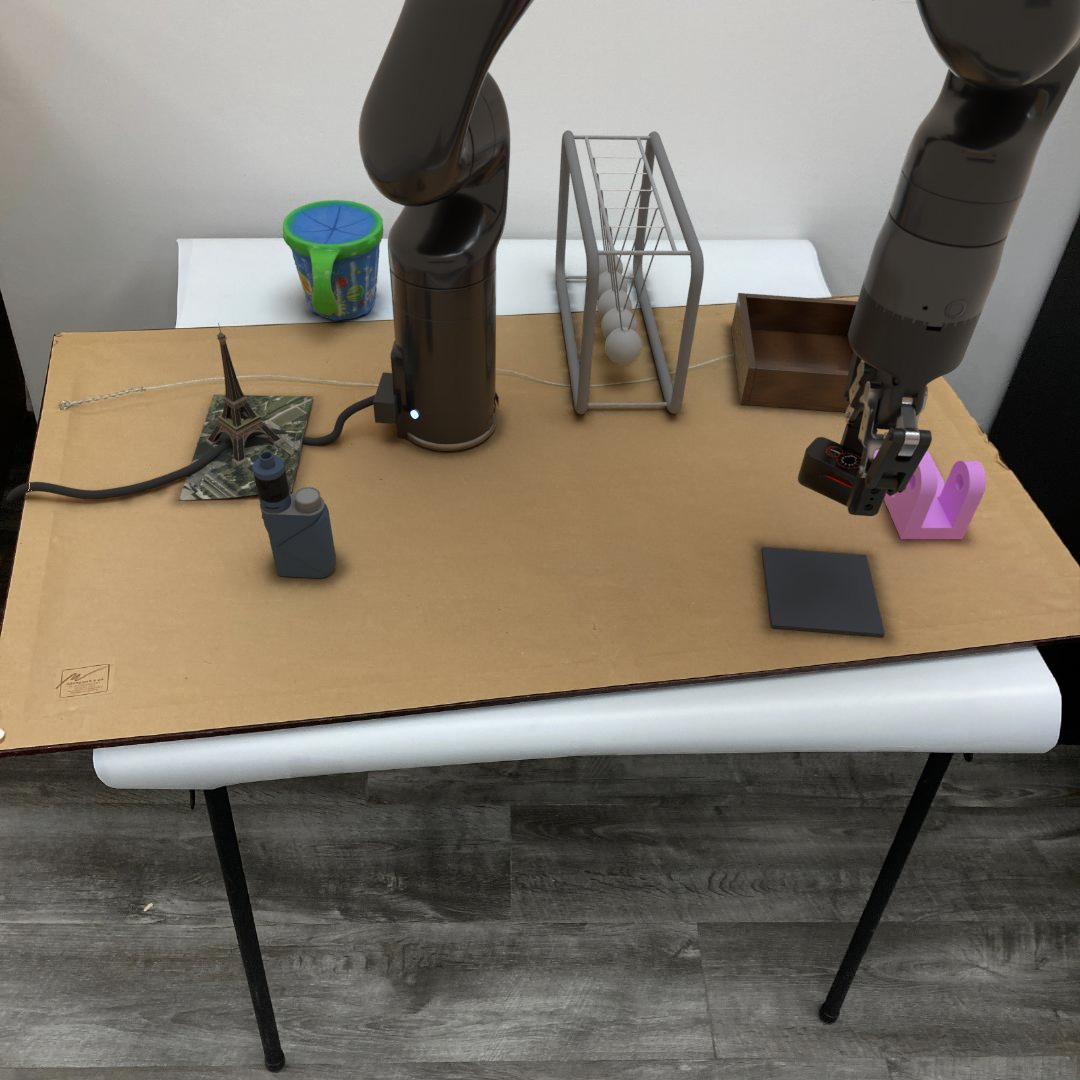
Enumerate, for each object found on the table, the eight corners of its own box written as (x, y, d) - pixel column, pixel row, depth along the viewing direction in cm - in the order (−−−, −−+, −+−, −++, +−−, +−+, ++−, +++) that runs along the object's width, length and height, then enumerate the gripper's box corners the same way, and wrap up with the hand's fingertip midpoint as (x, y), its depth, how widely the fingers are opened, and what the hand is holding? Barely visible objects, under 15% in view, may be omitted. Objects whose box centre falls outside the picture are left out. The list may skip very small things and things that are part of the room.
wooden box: (740, 404, 100) (748, 367, 97) (731, 327, 111) (738, 292, 108) (873, 414, 100) (886, 377, 97) (851, 336, 110) (862, 301, 107)
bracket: (962, 539, 87) (990, 480, 82) (900, 539, 87) (925, 479, 82) (916, 447, 96) (939, 389, 91) (861, 446, 96) (881, 388, 91)
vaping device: (277, 555, 82) (253, 443, 74) (339, 558, 82) (322, 447, 74) (270, 577, 81) (245, 465, 72) (334, 580, 81) (316, 469, 72)
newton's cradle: (554, 271, 118) (562, 123, 106) (640, 271, 119) (657, 124, 107) (576, 423, 97) (588, 260, 85) (680, 422, 98) (707, 260, 85)
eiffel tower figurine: (294, 499, 87) (271, 375, 78) (178, 500, 87) (141, 375, 78) (313, 399, 98) (295, 279, 89) (211, 399, 98) (181, 279, 88)
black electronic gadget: (879, 525, 72) (892, 493, 70) (793, 485, 75) (802, 452, 73) (904, 493, 75) (917, 461, 73) (819, 455, 78) (829, 423, 76)
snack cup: (369, 348, 105) (360, 262, 98) (274, 337, 106) (259, 250, 99) (404, 276, 116) (399, 194, 109) (318, 267, 117) (307, 184, 110)
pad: (771, 628, 79) (772, 624, 78) (761, 549, 85) (762, 546, 85) (883, 637, 78) (884, 633, 78) (865, 557, 85) (866, 554, 85)
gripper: (848, 230, 67) (794, 426, 79) (885, 344, 57) (817, 550, 69) (958, 237, 67) (887, 433, 79) (1015, 354, 57) (924, 559, 69)
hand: (855, 487), depth 74 cm, fingers closed on black electronic gadget, 5 cm apart
